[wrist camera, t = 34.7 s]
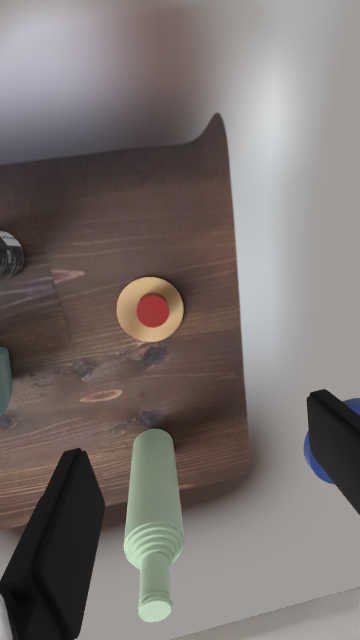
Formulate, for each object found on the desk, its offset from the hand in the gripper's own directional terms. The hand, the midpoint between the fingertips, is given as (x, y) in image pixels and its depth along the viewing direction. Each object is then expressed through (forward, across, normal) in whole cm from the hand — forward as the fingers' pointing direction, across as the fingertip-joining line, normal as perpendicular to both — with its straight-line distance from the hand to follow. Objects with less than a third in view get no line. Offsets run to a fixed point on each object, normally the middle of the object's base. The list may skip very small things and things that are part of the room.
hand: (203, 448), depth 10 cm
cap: (+24, +2, -2) cm, 24 cm away
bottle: (+25, +7, +21) cm, 33 cm away
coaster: (+25, +2, -1) cm, 25 cm away
